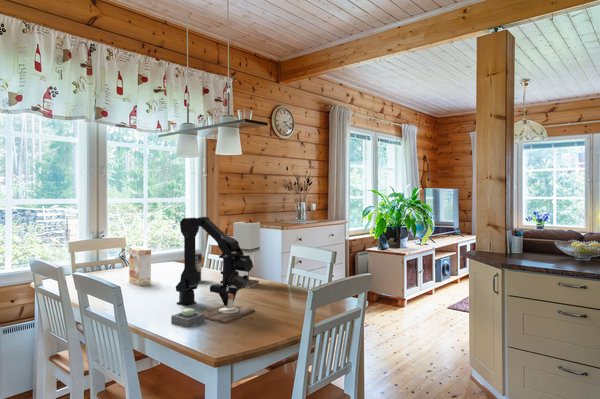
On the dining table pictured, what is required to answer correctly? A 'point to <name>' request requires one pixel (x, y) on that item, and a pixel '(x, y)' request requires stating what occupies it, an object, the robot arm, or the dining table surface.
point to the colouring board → (226, 313)
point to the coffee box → (198, 262)
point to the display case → (248, 243)
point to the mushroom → (230, 301)
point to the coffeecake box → (140, 265)
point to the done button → (188, 312)
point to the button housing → (187, 319)
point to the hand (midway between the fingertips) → (228, 305)
